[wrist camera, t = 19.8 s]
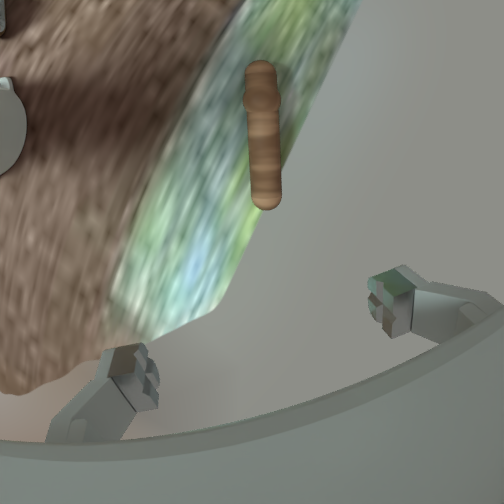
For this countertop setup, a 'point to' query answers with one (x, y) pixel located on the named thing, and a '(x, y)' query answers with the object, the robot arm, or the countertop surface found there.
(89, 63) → the countertop surface
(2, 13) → the tin
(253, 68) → the wooden turned rod
